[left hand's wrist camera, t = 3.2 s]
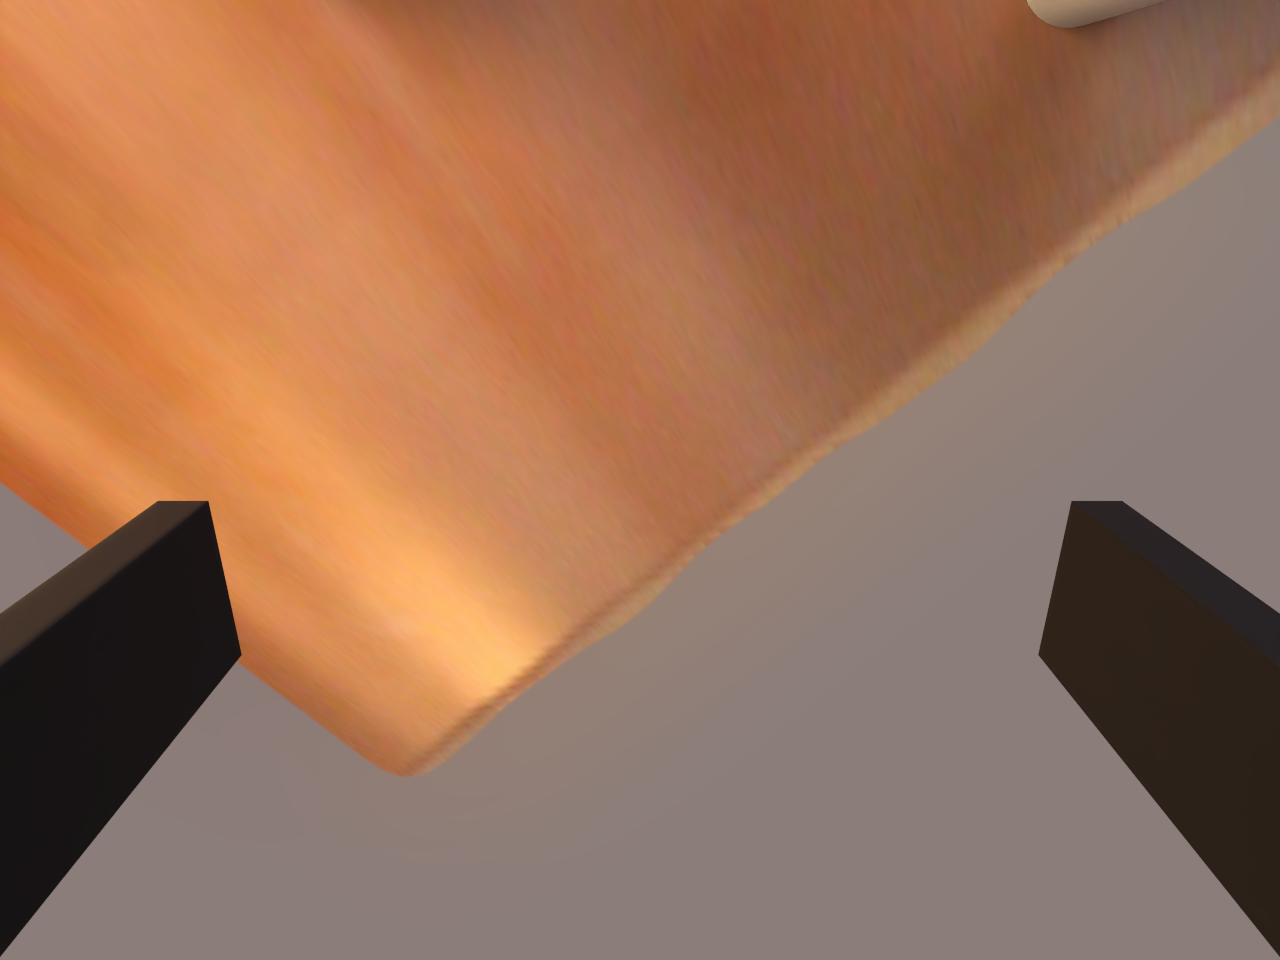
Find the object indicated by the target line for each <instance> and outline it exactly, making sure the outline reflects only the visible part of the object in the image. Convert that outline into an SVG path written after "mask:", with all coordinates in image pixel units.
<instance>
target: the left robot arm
mask: <svg viewBox="0 0 1280 960" xmlns="http://www.w3.org/2000/svg"><path fill="white" fill-rule="evenodd" d="M241 655H242V654H241V650H240V645H239V640H238V636H237V631H236V627H235V622H234V617H233V613H232V608H231V604H230V599H229V594H228V590H227V585H226V580H225V576H224V571H223V567H222V562H221V557H220V553H219V548H218V543H217V539H216V534H215V530H214V525H213V520H212V516H211V511H210V507H209V502H208V501H157V502H156V503H155V504H153V505H152V506H150V507H149V508H148V509H146V510H145V511H143V512H142V513H141V514H139V515H138V516H136V517H135V518H134V519H132V520H131V521H129V522H128V523H127V524H125V525H124V526H122V527H121V528H120V529H118V530H117V531H115V532H114V533H113V534H111V535H110V536H108V537H107V538H106V539H104V540H103V541H101V542H100V543H99V544H97V545H96V546H94V547H93V548H92V549H90V550H89V551H87V552H86V553H85V554H83V555H82V556H80V557H79V558H78V559H76V560H75V561H74V562H72V563H71V564H69V565H68V566H66V567H65V568H64V569H62V570H61V571H59V572H58V573H57V574H55V575H54V576H52V577H51V578H50V579H48V580H47V581H45V582H44V583H43V584H41V585H40V586H38V587H37V588H36V589H34V590H33V591H31V592H30V593H29V594H27V595H26V596H24V597H23V598H22V599H20V600H19V601H17V602H16V603H15V604H13V605H12V606H10V607H9V608H8V609H6V610H5V611H3V612H2V613H1V614H0V956H1V955H2V954H3V953H4V951H5V950H6V949H7V948H8V946H9V945H10V944H11V943H12V941H13V940H14V939H15V938H16V936H17V935H18V934H19V933H20V931H21V930H22V929H23V927H24V926H25V925H26V924H27V923H28V921H29V920H30V919H31V918H32V916H33V915H34V914H35V913H36V911H37V910H38V909H39V908H40V906H41V905H42V904H43V903H44V901H45V900H46V899H47V897H48V896H49V895H50V894H51V892H52V891H53V890H54V889H55V888H56V886H57V885H58V884H59V883H60V881H61V880H62V879H63V878H64V876H65V875H66V874H67V873H68V871H69V870H70V869H71V868H72V866H73V865H74V864H75V862H76V861H77V860H78V859H79V858H80V856H81V855H82V854H83V853H84V851H85V850H86V849H87V847H88V846H89V845H90V844H91V843H92V841H93V840H94V839H95V838H96V836H97V835H98V834H99V833H100V831H101V830H102V829H103V828H104V826H105V825H106V824H107V822H108V821H109V820H110V819H111V818H112V816H113V815H114V814H115V812H116V811H117V810H118V809H119V808H120V806H121V805H122V804H123V802H124V801H125V800H126V799H127V798H128V796H129V795H130V794H131V793H132V791H133V790H134V789H135V788H136V786H137V785H138V784H139V783H140V781H141V780H142V779H143V778H144V776H145V775H146V774H147V773H148V771H149V770H150V769H151V768H152V766H153V765H154V764H155V763H156V761H157V760H158V759H159V758H160V756H161V755H162V754H163V752H164V751H165V750H166V749H167V748H168V746H169V745H170V744H171V742H172V741H173V740H174V739H175V737H176V736H177V735H178V734H179V732H180V731H181V730H182V729H183V727H184V726H185V725H186V724H187V722H188V721H189V720H190V719H191V717H192V716H193V715H194V714H195V712H196V711H197V710H198V709H199V707H200V706H201V705H202V704H203V702H204V701H205V700H206V699H207V697H208V696H209V695H210V694H211V692H212V691H213V690H214V689H215V687H216V686H217V685H218V684H219V682H220V681H221V680H222V679H223V677H224V676H225V675H226V674H227V672H228V671H229V670H230V669H231V667H232V666H233V665H234V664H235V662H236V661H237V660H238V659H239V657H240V656H241ZM1039 656H1040V657H1041V659H1042V660H1043V661H1044V662H1045V664H1046V665H1047V666H1048V667H1049V669H1050V670H1051V671H1052V672H1053V674H1054V675H1055V676H1056V677H1057V679H1058V680H1059V681H1060V682H1061V684H1062V685H1063V686H1064V687H1065V689H1066V690H1067V691H1068V692H1069V694H1070V695H1071V696H1072V697H1073V699H1074V700H1075V701H1076V702H1077V704H1078V705H1079V706H1080V707H1081V709H1082V710H1083V711H1084V712H1085V714H1086V715H1087V716H1088V717H1089V719H1090V720H1091V721H1092V722H1093V724H1094V725H1095V726H1096V727H1097V729H1098V730H1099V731H1100V732H1101V734H1102V735H1103V736H1104V737H1105V739H1106V740H1107V741H1108V743H1109V744H1110V745H1111V746H1112V747H1113V749H1114V750H1115V751H1116V753H1117V754H1118V755H1119V756H1120V757H1121V759H1122V760H1123V761H1124V763H1125V764H1126V765H1127V766H1128V768H1129V769H1130V770H1131V771H1132V773H1133V774H1134V775H1135V776H1136V778H1137V779H1138V780H1139V781H1140V782H1141V784H1142V785H1143V786H1144V787H1145V789H1146V790H1147V791H1148V792H1149V794H1150V795H1151V796H1152V797H1153V799H1154V800H1155V801H1156V803H1157V804H1158V805H1159V806H1160V807H1161V809H1162V810H1163V811H1164V813H1165V814H1166V815H1167V816H1168V818H1169V819H1170V820H1171V821H1172V823H1173V824H1174V825H1175V826H1176V827H1177V829H1178V830H1179V831H1180V833H1181V834H1182V835H1183V836H1184V838H1185V839H1186V840H1187V841H1188V843H1189V844H1190V845H1191V846H1192V848H1193V849H1194V850H1195V851H1196V853H1197V854H1198V855H1199V856H1200V857H1201V859H1202V860H1203V861H1204V863H1205V864H1206V865H1207V866H1208V868H1209V869H1210V870H1211V871H1212V873H1213V874H1214V875H1215V876H1216V878H1217V879H1218V880H1219V881H1220V883H1221V884H1222V885H1223V886H1224V888H1225V889H1226V890H1227V891H1228V893H1229V894H1230V895H1231V896H1232V898H1233V899H1234V900H1235V901H1236V903H1237V904H1238V905H1239V906H1240V908H1241V909H1242V910H1243V911H1244V913H1245V914H1246V915H1247V916H1248V917H1249V919H1250V920H1251V921H1252V923H1253V924H1254V925H1255V926H1256V928H1257V929H1258V930H1259V931H1260V933H1261V934H1262V935H1263V936H1264V938H1265V939H1266V940H1267V941H1268V943H1269V944H1270V945H1271V946H1272V947H1273V949H1274V950H1275V951H1276V953H1277V954H1278V955H1279V956H1280V614H1279V613H1278V612H1277V611H1275V610H1274V609H1272V608H1271V607H1270V606H1268V605H1267V604H1265V603H1264V602H1263V601H1261V600H1260V599H1258V598H1257V597H1256V596H1254V595H1253V594H1251V593H1250V592H1249V591H1247V590H1246V589H1244V588H1243V587H1242V586H1240V585H1239V584H1237V583H1236V582H1235V581H1233V580H1232V579H1230V578H1229V577H1228V576H1226V575H1225V574H1223V573H1222V572H1221V571H1219V570H1218V569H1216V568H1215V567H1214V566H1212V565H1211V564H1209V563H1208V562H1207V561H1205V560H1204V559H1202V558H1201V557H1200V556H1198V555H1197V554H1195V553H1194V552H1193V551H1191V550H1190V549H1188V548H1187V547H1186V546H1184V545H1183V544H1181V543H1180V542H1179V541H1177V540H1176V539H1174V538H1173V537H1172V536H1170V535H1169V534H1167V533H1166V532H1165V531H1163V530H1162V529H1160V528H1159V527H1158V526H1156V525H1155V524H1153V523H1152V522H1151V521H1149V520H1148V519H1146V518H1145V517H1144V516H1142V515H1141V514H1139V513H1138V512H1137V511H1135V510H1134V509H1132V508H1131V507H1130V506H1128V505H1127V504H1125V503H1124V502H1123V501H1072V502H1071V507H1070V511H1069V516H1068V521H1067V525H1066V530H1065V534H1064V539H1063V544H1062V548H1061V553H1060V558H1059V562H1058V567H1057V571H1056V576H1055V580H1054V585H1053V590H1052V594H1051V599H1050V604H1049V608H1048V613H1047V617H1046V622H1045V627H1044V631H1043V636H1042V641H1041V645H1040V650H1039Z"/></svg>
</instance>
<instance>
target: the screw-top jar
mask: <svg viewBox="0 0 1280 960" xmlns="http://www.w3.org/2000/svg"><path fill="white" fill-rule="evenodd" d="M1165 1H1168V0H1027V3H1028V5H1029V6H1030V8H1031V9H1032V11H1033V12H1034V13H1035V14H1036V15H1037V16H1038V17H1039V18H1040V19H1041V20H1042V21H1044V22H1046V23H1047V24H1050V25H1052V26H1055V27H1060V28H1076V27H1080V26H1084V25H1087V24H1091V23H1094V22H1097V21H1101V20H1104V19H1107V18H1111V17H1114V16H1118V15H1121V14H1124V13H1128V12H1131V11H1135V10H1138V9H1141V8H1145V7H1148V6H1151V5H1155V4H1158V3H1162V2H1165Z"/></svg>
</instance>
